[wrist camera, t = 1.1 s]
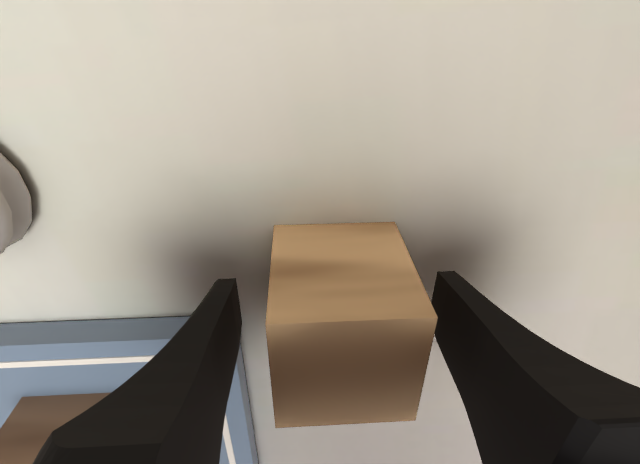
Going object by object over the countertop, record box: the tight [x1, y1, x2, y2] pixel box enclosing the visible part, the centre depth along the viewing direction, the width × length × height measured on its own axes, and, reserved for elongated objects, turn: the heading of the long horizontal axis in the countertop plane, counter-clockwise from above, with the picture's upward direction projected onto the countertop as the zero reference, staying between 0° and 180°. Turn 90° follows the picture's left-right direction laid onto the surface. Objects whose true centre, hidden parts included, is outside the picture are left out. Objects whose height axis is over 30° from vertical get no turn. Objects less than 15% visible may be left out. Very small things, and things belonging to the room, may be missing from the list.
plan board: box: [0, 316, 258, 464], centre depth 17 cm, size 12×12×4 cm
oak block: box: [265, 222, 438, 428], centre depth 13 cm, size 4×4×5 cm
